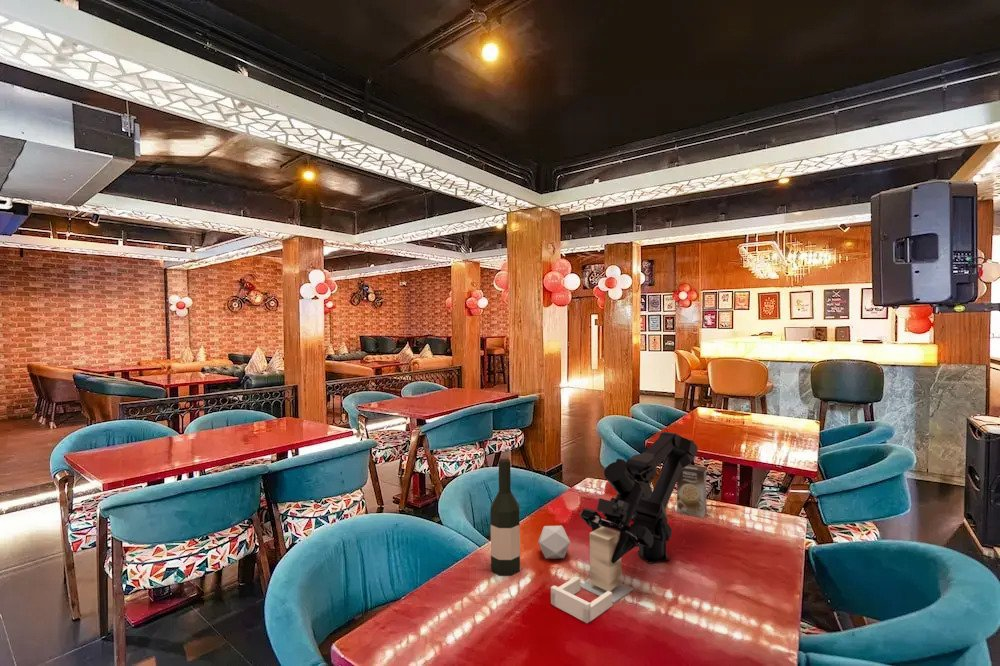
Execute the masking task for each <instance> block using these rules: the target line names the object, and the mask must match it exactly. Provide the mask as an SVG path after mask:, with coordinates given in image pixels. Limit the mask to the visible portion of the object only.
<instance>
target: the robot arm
mask: <svg viewBox="0 0 1000 666" xmlns="http://www.w3.org/2000/svg"><path fill="white" fill-rule="evenodd" d="M697 455H698V445H697V444H696V443H695V442H694V440H692V439H689V438H685V437H683V436H681V435H680V434H678V433H676V432H675V433H674V432H669V431H664V432H663V431H662V432H661V433H660V434H659V436H658V438H657V439H656V440H655V441H653V443H652V444H651V445H650V446H649V447H648V448H647V449H646V450H645V451H644V452H642V453H639V454H634V455H632V456H631V457H629V458H628V459H627V460H625V459H623V458H617V459H616V461H615V462H611V463H610V464H608V465H607V466H606V467H605V469H604V470H603V474H604V478H605V479H606V480H607V482H608V483H609V484H610V486H611V487H612V488H613V490H614V491H615V492H617V493H616V495H615V497H611V498H610V500H607V499H604V498H598V502H597V507H596V510H595V509H590V508H587V507H585V508H583V509H582V510H581V512H580V514H579V517H580V518H581V519H582V520H583V522H584V523H585V524H586V525H587V526H588V527H590V528H591V530H592V531H594V530H596V529H598V528H600V527H602V526H603V527H606V528H609V529H611V530H614V531H617V532H620V539H619V542H618V544H617V547H616V549H615V551H614V554H613V557H612V560H611V562H612V563H615V562H616V561H617V560H619V559H620V558H621V559H622V557H623V556H624V555H626V554H627V553H629V552H630V551H632V550H633V549H634V548H636V547H637V548H638V550H637V554H638V555H639V556H640V557H641V558H643V559H644V560H645V561H646V563H649V564H651V563H653V564H654V563H661V562H669V561H670V558H669V557H668V556H667V542H669V541H670V540H671V538H672V531H673V529H672V527H671V526H670V524H669V523H668V515H667V510H666V509H667V506H668V503H669V501H670V498H671V496H672V494H673V493H674V489H675V487H676V486H677V480H678V478H679V476H680V473H681V471H682V469H683V468H684V467H685V466H687V465H691V463H692V462H693V461H694V458H695V457H696V456H697ZM665 458H666V461H665V463H664V466H663V468H662V469H661V473H660V474H659V476H658V477H657V481H656V482H655V485H654V488H652V494H651V496H650V498H649V499H648V500H643V499H641V500H640V497H641V496H643V497H645V491H644V489H643V486H641V485H640V484H639V483H638V482H636V481H639V482H643V483H650V484H651V482H652V481H653V480H654V479H655V477H656V475H657V467H658V466H659V465H660V463H662V461H664V459H665ZM634 480H635V481H634ZM639 500H640V502H639ZM638 502H639V504H638ZM637 505H638V507H637ZM636 507H637V508H636ZM635 511H636V512H635ZM600 512H601V513H602V515H600V514H599V513H600ZM602 516H603V517H602ZM632 517H633V518H632ZM631 522H632V523H631ZM592 531H591V532H592Z"/></svg>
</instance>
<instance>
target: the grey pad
mask: <svg viewBox="0 0 1000 666" xmlns="http://www.w3.org/2000/svg"><path fill="white" fill-rule="evenodd" d="M580 589H581V590H582V589H583V590H584V591H587V592H588V593H591V594H593V595H595V596H597V597H599V596H601V595H602V594H604V593H605V592H607V590H604V589H602V588H600V587H598V586H596V585H593V584H591V583H590V579H589V580H587V581H585V582H584V583H582V584H580ZM633 590H634V588H633V587H631V586H629V585H627V584H624V583H621V584H620V585H618V586H617V587H615V588H614V589H612V590H611V591H610V592H612V604H616V603H617V602H618V601H620V600H621V599H623V598H624V597H625V596H627V595H628V594H629V593H631V592H633Z"/></svg>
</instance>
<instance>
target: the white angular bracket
mask: <svg viewBox="0 0 1000 666" xmlns="http://www.w3.org/2000/svg"><path fill="white" fill-rule="evenodd" d="M580 585H581V577H579V576H574V577H573V578H571V579H569V580H567V581H566V582H565V583H563V584H561V585H560V586H557V585H554V584H553V585H552V586H550V605H552V606H554V607H555V608H557V609H559V610H561V611H563V612H565V613H567V614H569V615H571V616H572V617H575V618H576V619H578V620H579V621H581V622H584V623H585V624H589V623H591V622H592V621H593V620H594V619H596V618H598V617H599V616H600V615H602V614H603V613H604V612H606V611H607V610H609V609H610V608H611V607H613V606H614V605H613V604H614V603H612V592H610V591H607V592H605V593H604V594H602V595H601V596H597V598H595V599H593V600H592V601H591V602H589V601H587V600H585V599H583V598H581V597H579V596H577V595H575V594H577V593H579V592H580V591H581V588H580Z"/></svg>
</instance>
